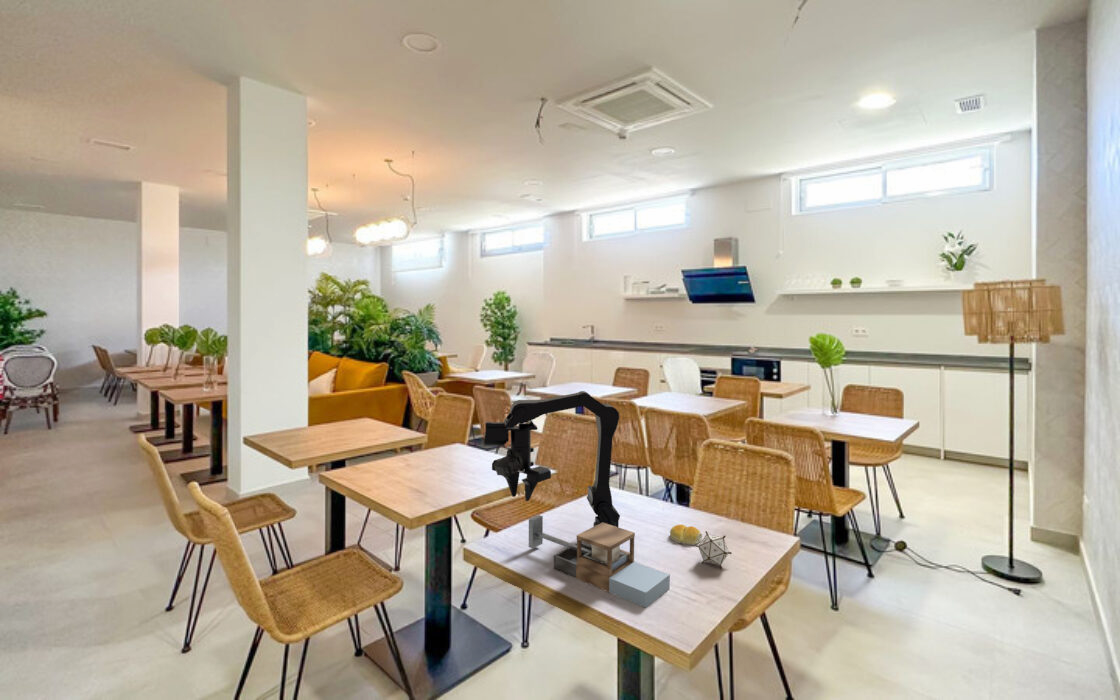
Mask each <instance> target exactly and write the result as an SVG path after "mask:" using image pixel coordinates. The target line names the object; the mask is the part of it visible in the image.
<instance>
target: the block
mask: <svg viewBox="0 0 1120 700" xmlns="http://www.w3.org/2000/svg"><path fill="white" fill-rule="evenodd" d="M591 546H592V558H594V559H596V560H599V561H602V562H604V563H607V550H605V549H602V548H599V547H597V546H594V545H591ZM620 546H621V545H619V546H618V547H616V548H614V549H613V550H612V562H614V561H615V560H617V559H619V558H620V548H621V547H620Z"/></svg>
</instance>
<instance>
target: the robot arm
mask: <svg viewBox="0 0 1120 700" xmlns="http://www.w3.org/2000/svg"><path fill="white" fill-rule="evenodd" d="M580 407H584V408H585V409H587V410H589V412H591V413H593V414H594V417H595V425H596V430H597V434H598V435H597V448H596V449H597V450H596V462H595V475H594V481H593V484H592V485H587V492H588V493H587V496H586V499H587V501H588V504H589V506H590V507H591V509H592V511H593V512H594V514H595V515H596V516H594V522H593V527H594V526H596V525H598V524H600V523H602V522H603V523H606V524H609V525H612V526H616V527H619V525H620V524H619V522H620V518H621V515H620V513H619V512H618V511H617V509H616V508H615V506H614V505H613V499H612V491H611V486H610V477H611V466H612V465H611V464H612V452H613V451H612V450H613V438H614V436H615V433H616V431H617V428H618V425H619V422H620V421H619V420H620V412H619V411H618V409H617V408H615V407H614V406H613V405H611V404H609V403H602V402H600V401H599V400H598V399H596V398H595V397H593V396H591V395H590V394H589V393H588V392H587V391H584V390H582V391H578V392H574V393H569V394H565V395H559V396H554V397H549V398H546V399H545V398H544V399H538V400H537V399H518V400H515V401H514V402H513V403H512V404H511V405H510V409H509V410H510V412H509V413H508V414H507V416H506V417H505V418H504V420H503V421H497V422H496V421H495V422H493V421H485V425H484V426H485V429H484V446H485V447H499V446H500V447H503V446H506V445H505V444H507V443H509V435H510V447H509V448H508V449H507V451H506V455H505V456H503V457H501V458H498V459H494V460H493V462H492V463H491V470H492V471H494V472H496V475H497V476H501V477H503V478H505V481H506V482H507V485H508V488H509V491H510V494H511V497H514V498H515V497H516V496H517V491H518V485H519V478H520V473H522V474H524V475H526V477H525V478H523V479H521V482H522V483H523V485H524V498H525V502H528V501H530V499H531V497H532V495H533V493H534V491H535V489H536V487H537V485H538V483H541V482H544V481H546V480H549V479H552V471H551V469H550V468H549V467H545V466H541V465H539V466H536V467H533V466H534V461H532V460H531V458H532V457H531V453H534V452H535V450H534V447H532V446H531V443H532V441H531V439H532V438H531V435H532V433H531V431H537V430H538V426H537V425H536V424H535V423H534V421H533V420H536V419H537V418H539V417H542V416H544V415H546V414H551V413H558V412H562V411H567V410H570V409H576V408H580ZM509 432H510V434H509ZM531 467H532V468H531Z"/></svg>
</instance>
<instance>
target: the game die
mask: <svg viewBox="0 0 1120 700" xmlns="http://www.w3.org/2000/svg"><path fill="white" fill-rule="evenodd" d="M705 534H706V535H705V536H704V538H703V539H701V541H700V542H699V543H698V544H695V545H694V546H695V547H696V548H698V550H699V553H700V555H701V558H702V561H701V564H702V565H703V564H705V563H708V564H712V565H716V566H719V568H720V569H723V566H722V564H723V563H724V561H725V560H726V558H727V557H728V556H729V555H732V554H733V552H731V551H729V548H728V546H727V543H726V540H725V539H726V534H725V535H723V536H717V535H714V534H709V532H708V531H707V530H705Z"/></svg>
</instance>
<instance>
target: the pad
mask: <svg viewBox="0 0 1120 700" xmlns="http://www.w3.org/2000/svg"><path fill="white" fill-rule="evenodd" d="M670 578H671V574H670V573H667V572H665V571H662V570H659V569H655V568H652V567H650V566H648V565H645V564H641V563H639V562H637V561H634V562H633V563H631V564H630V565H628V566H627V567H625V568H624V569H622V570H621V571H619V572H618V573H616V574H615V575H613V576H612V577H610V578H609V592H608V593H610V594H611V595H615V596H617V597H619V598H622V599H624V600H627V601H629V602H631V603H633V604H636V605H638V606H641V607H643V608H648V606H650V605H651V604H652V603H654V602H655V601H656V600H657V599H658V598H660V597H661V596H662V595H663V594H665V593H666V592H667V591H668V590H670V587H671V586H670V585H671V584H670V583H671V581H670V580H671V579H670Z"/></svg>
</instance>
